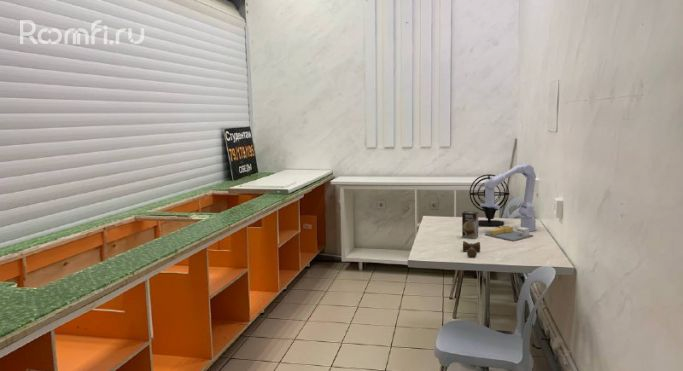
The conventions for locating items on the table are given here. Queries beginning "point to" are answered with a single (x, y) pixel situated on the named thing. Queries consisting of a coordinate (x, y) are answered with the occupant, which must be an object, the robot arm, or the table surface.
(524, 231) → the base
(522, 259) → the table surface
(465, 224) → the coffee box
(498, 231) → the link
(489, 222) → the desk fan
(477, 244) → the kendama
